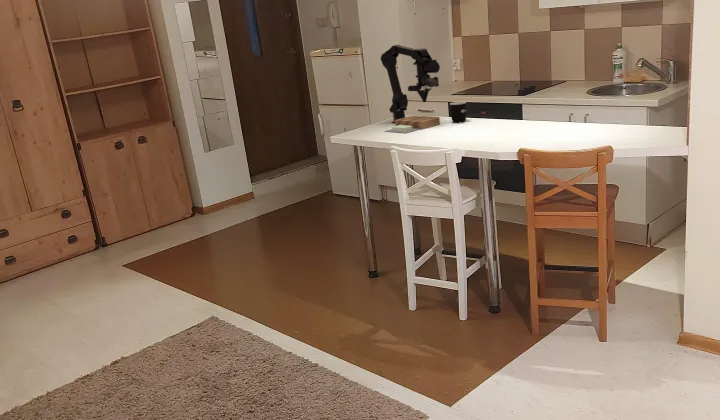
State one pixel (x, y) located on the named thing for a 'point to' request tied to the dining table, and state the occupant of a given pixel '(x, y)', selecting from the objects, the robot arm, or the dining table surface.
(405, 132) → the mat
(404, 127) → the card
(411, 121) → the brown wooden flat block
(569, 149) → the dining table surface
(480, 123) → the dining table surface
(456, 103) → the mug
